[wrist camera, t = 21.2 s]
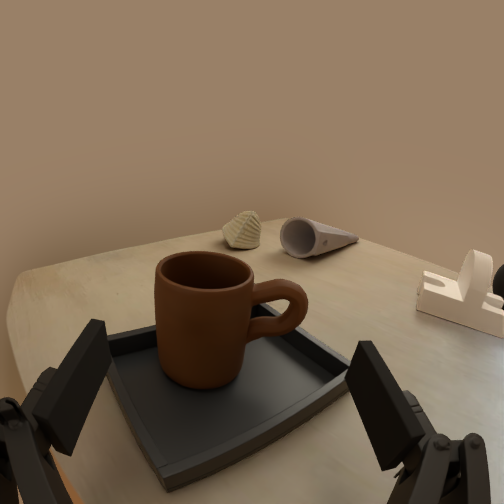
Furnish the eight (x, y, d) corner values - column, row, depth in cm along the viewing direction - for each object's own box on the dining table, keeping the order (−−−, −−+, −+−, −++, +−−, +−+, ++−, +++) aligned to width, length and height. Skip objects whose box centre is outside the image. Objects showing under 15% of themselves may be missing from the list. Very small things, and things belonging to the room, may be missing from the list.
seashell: (269, 230, 63) (272, 220, 55) (248, 263, 61) (248, 257, 54) (238, 210, 63) (236, 198, 55) (216, 242, 62) (211, 234, 54)
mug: (287, 347, 28) (306, 262, 25) (294, 402, 21) (324, 306, 18) (170, 332, 28) (170, 245, 25) (148, 383, 21) (138, 283, 18)
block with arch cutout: (416, 309, 39) (438, 243, 36) (417, 288, 47) (434, 232, 44) (504, 338, 31) (530, 276, 27) (494, 314, 39) (514, 260, 35)
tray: (100, 359, 23) (95, 337, 22) (256, 316, 34) (258, 298, 33) (167, 492, 12) (162, 478, 12) (352, 387, 24) (361, 367, 23)
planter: (335, 216, 76) (284, 212, 56) (364, 224, 71) (323, 223, 51) (328, 244, 78) (276, 250, 58) (357, 253, 73) (313, 264, 53)
